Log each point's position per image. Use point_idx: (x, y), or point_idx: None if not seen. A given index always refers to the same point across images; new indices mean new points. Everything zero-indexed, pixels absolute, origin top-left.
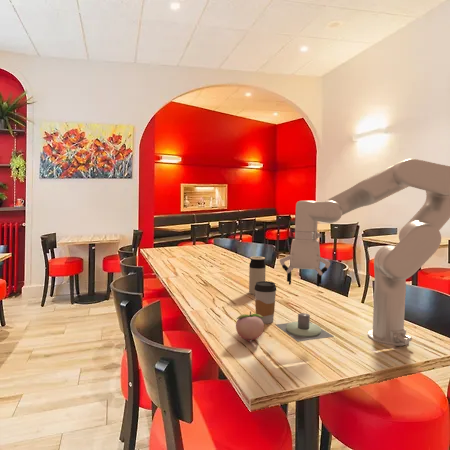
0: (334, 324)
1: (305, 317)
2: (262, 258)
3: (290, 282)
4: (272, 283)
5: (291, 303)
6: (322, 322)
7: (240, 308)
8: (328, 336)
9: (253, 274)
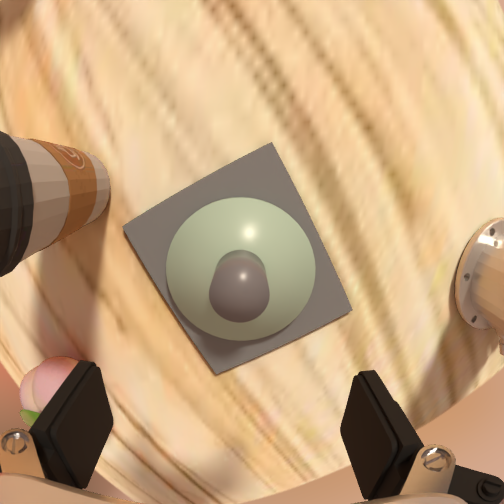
0: (382, 154)
1: (246, 321)
2: None
3: (105, 432)
4: None
5: None
6: (335, 134)
7: (7, 62)
8: (332, 316)
9: None
